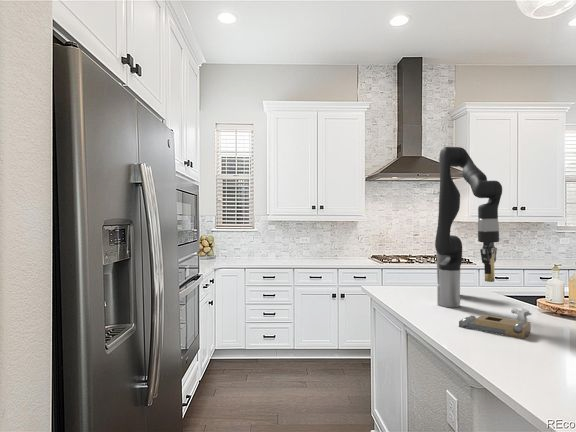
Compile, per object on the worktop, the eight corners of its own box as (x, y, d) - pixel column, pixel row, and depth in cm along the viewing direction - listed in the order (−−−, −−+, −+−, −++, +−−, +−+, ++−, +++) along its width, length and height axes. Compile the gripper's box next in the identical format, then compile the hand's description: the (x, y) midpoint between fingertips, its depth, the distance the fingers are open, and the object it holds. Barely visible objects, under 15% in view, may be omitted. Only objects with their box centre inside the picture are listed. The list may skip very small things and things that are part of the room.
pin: (483, 281, 151) (483, 253, 152) (486, 280, 154) (485, 253, 154) (493, 282, 149) (492, 254, 149) (495, 281, 151) (494, 253, 152)
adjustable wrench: (525, 327, 148) (525, 322, 148) (506, 324, 151) (506, 320, 151) (529, 313, 168) (529, 309, 168) (512, 311, 172) (512, 307, 172)
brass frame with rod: (458, 326, 146) (458, 315, 146) (467, 321, 153) (467, 310, 153) (524, 339, 131) (524, 326, 131) (530, 332, 138) (530, 320, 138)
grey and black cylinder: (464, 297, 199) (464, 230, 199) (438, 296, 201) (438, 230, 201) (457, 292, 211) (457, 230, 211) (433, 292, 213) (433, 230, 214)
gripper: (483, 230, 160) (484, 271, 159) (472, 230, 149) (473, 274, 149) (503, 230, 154) (504, 272, 154) (493, 230, 144) (494, 276, 144)
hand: (489, 273), depth 151 cm, fingers closed on pin, 3 cm apart
